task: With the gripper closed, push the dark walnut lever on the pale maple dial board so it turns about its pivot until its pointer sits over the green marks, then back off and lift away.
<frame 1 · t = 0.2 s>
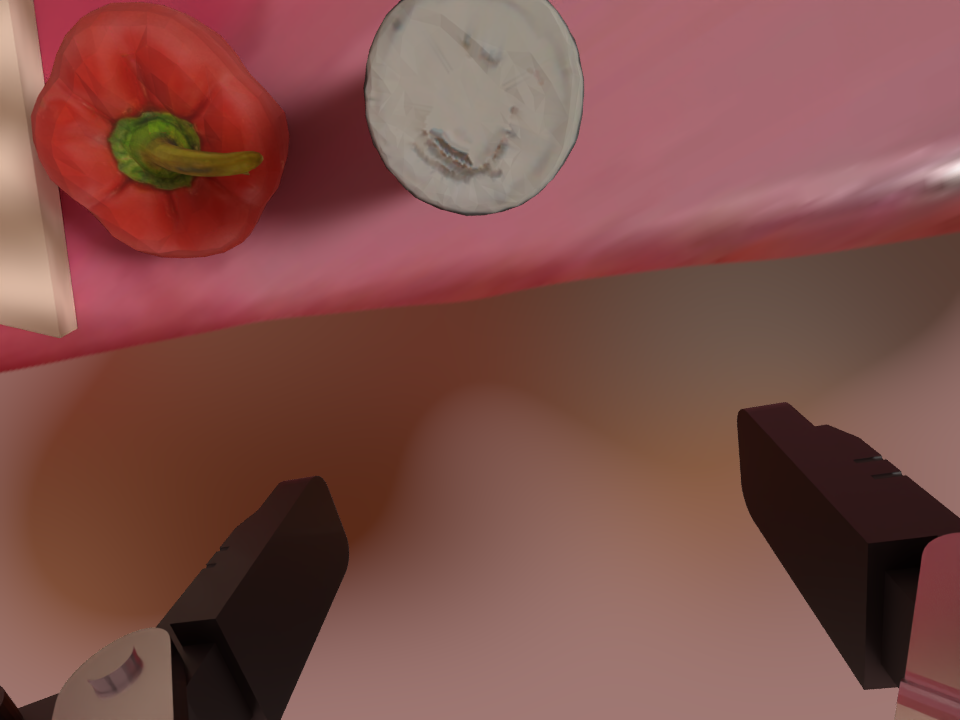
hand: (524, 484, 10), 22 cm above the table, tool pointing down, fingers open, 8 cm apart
sauce bottle: (487, 97, 27), on the table
vegetable: (235, 131, 28), on the table
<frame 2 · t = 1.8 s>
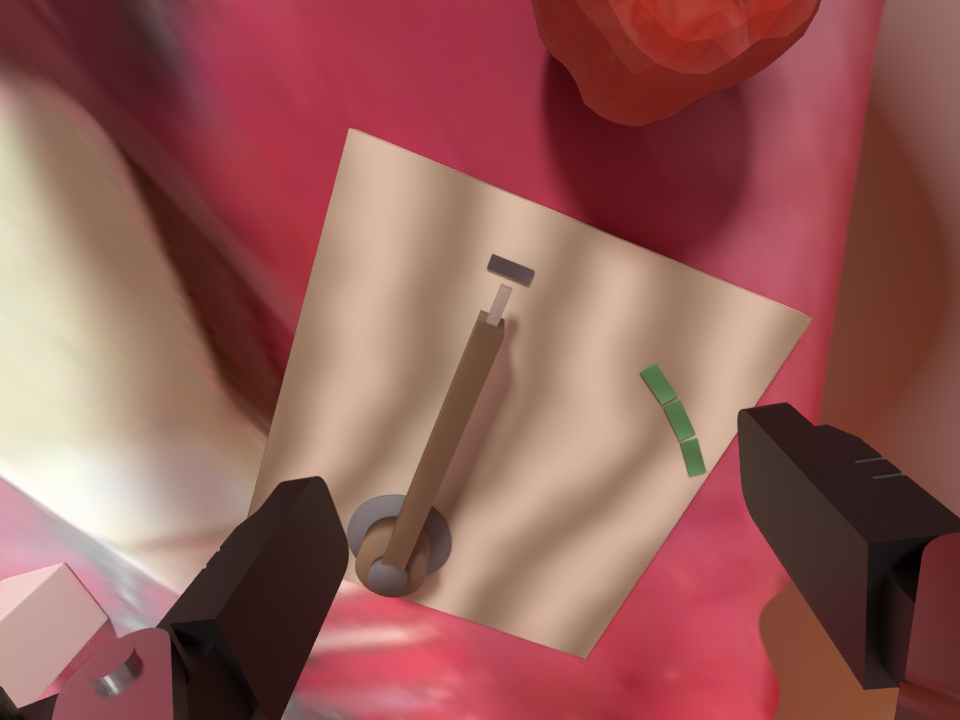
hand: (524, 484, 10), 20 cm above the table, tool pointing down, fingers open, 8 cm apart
dial board: (491, 433, 33), on the table
dial lever: (436, 455, 30), point 4 cm above the table, hinge at 0.0°
milk: (59, 596, 41), on the table
vegetable: (639, 4, 24), on the table
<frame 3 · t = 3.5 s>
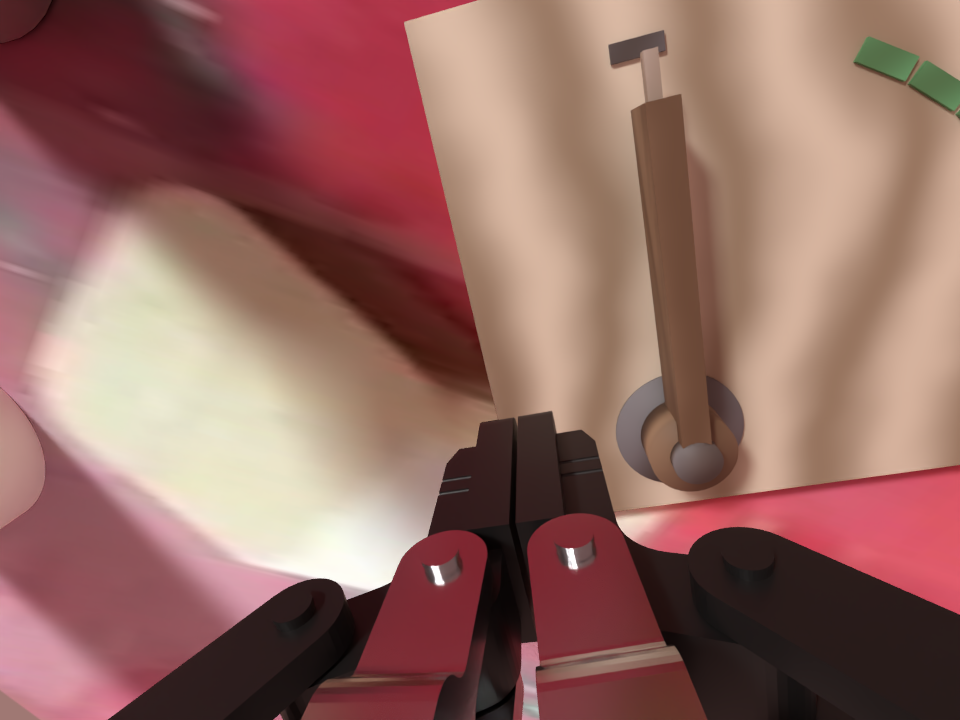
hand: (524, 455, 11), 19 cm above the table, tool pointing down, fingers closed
dial board: (711, 258, 27), on the table
dial lever: (673, 296, 25), point 4 cm above the table, hinge at 0.0°
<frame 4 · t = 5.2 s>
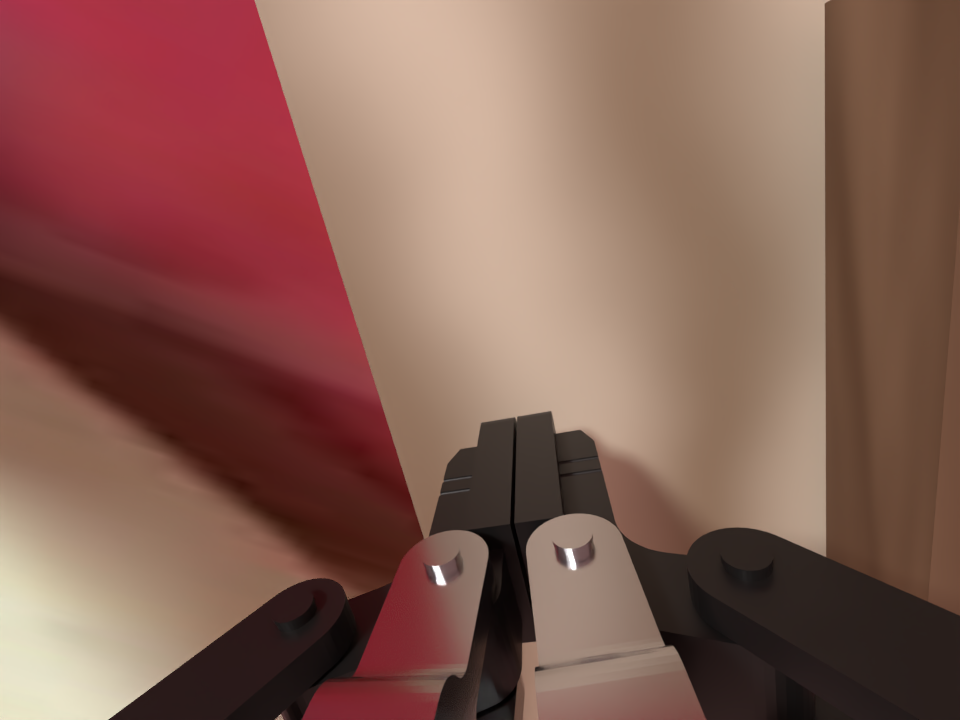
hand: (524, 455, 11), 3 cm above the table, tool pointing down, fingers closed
dial board: (941, 372, 12), on the table
dial lever: (908, 502, 10), point 4 cm above the table, hinge at 0.0°
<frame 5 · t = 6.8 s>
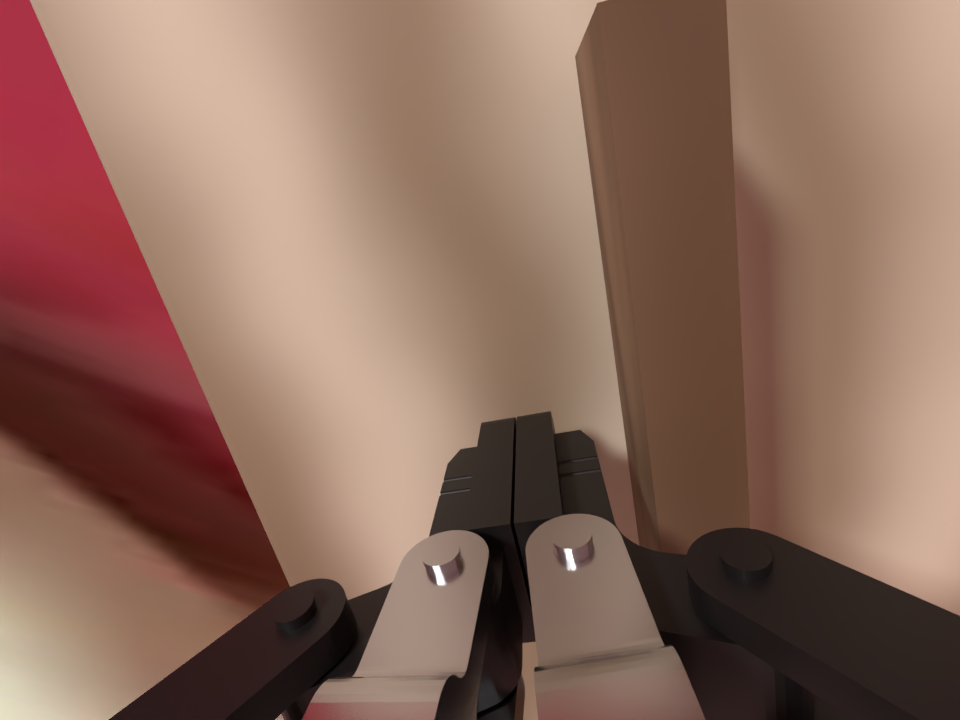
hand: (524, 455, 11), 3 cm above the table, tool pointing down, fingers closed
dial board: (754, 394, 13), on the table
dial lever: (681, 522, 10), point 4 cm above the table, hinge at -1.4°, touching gripper
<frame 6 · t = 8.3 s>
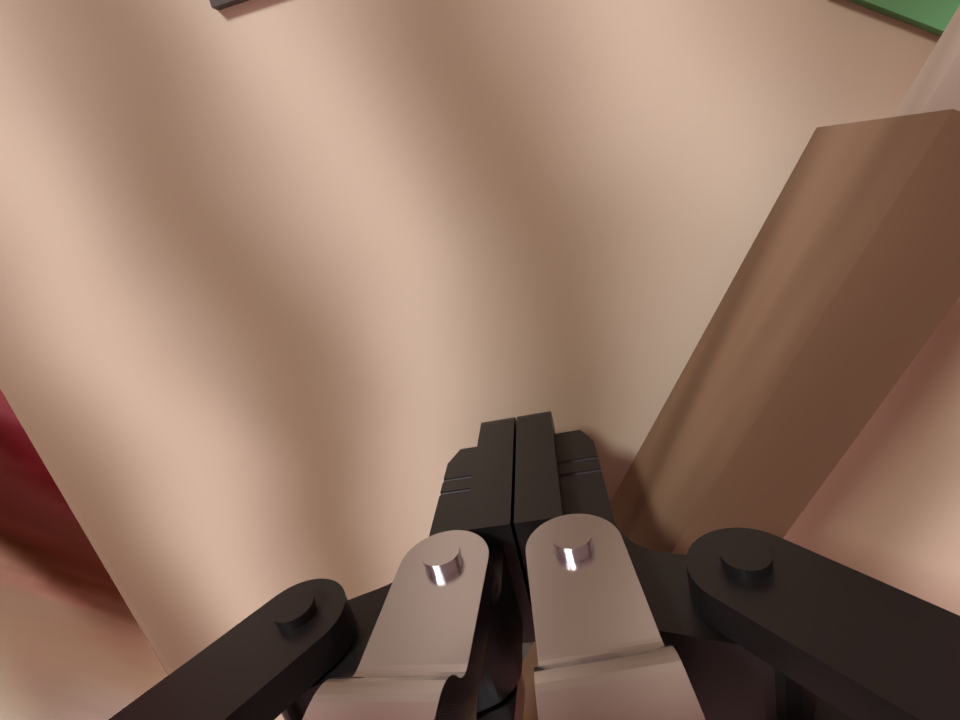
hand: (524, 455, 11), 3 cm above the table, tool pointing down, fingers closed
dial board: (544, 420, 13), on the table
dial lever: (642, 573, 10), point 4 cm above the table, hinge at -32.8°, touching gripper
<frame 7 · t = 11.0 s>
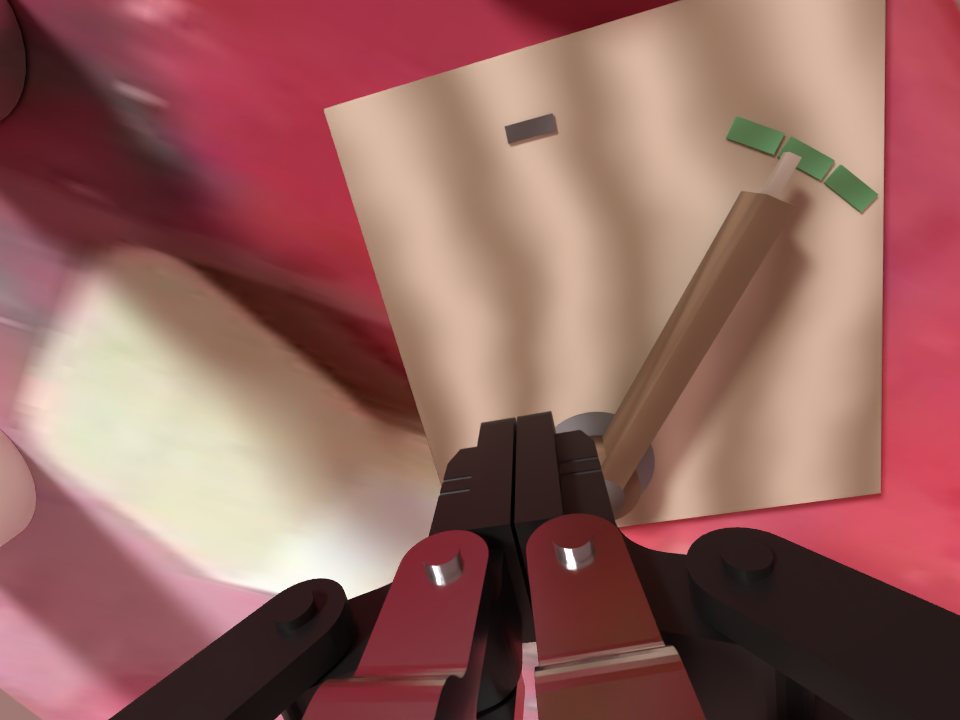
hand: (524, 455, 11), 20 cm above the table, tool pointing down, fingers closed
dial board: (618, 308, 30), on the table
dial lever: (672, 358, 27), point 4 cm above the table, hinge at -35.6°
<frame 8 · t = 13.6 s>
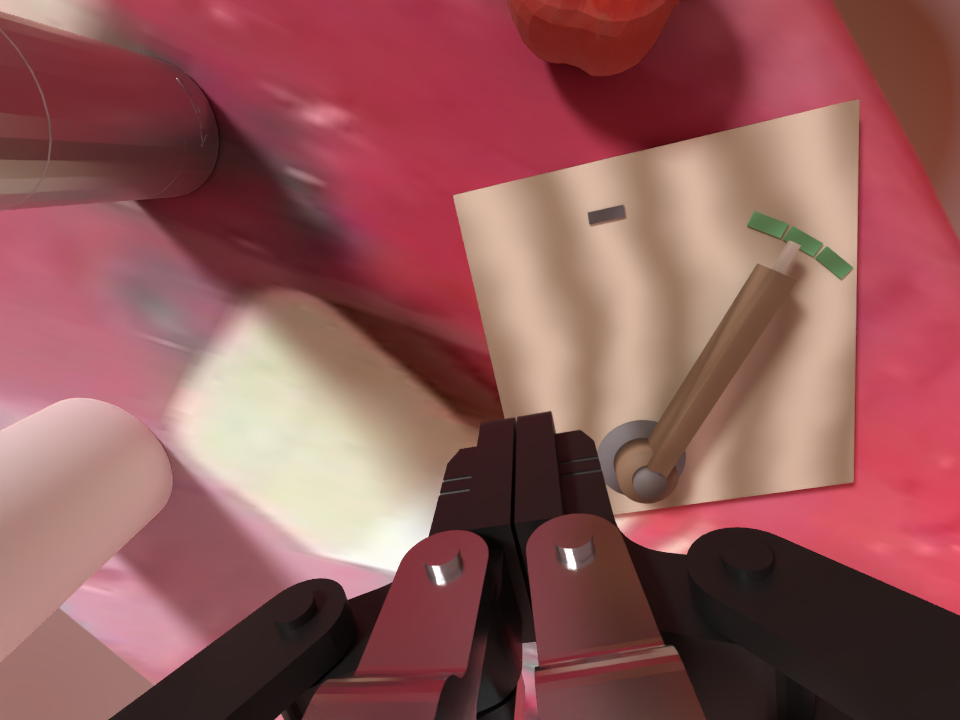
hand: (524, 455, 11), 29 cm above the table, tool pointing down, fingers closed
dial board: (661, 342, 40), on the table
dial lever: (704, 381, 37), point 4 cm above the table, hinge at -35.6°
canister: (103, 463, 48), on the table
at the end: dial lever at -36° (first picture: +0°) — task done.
